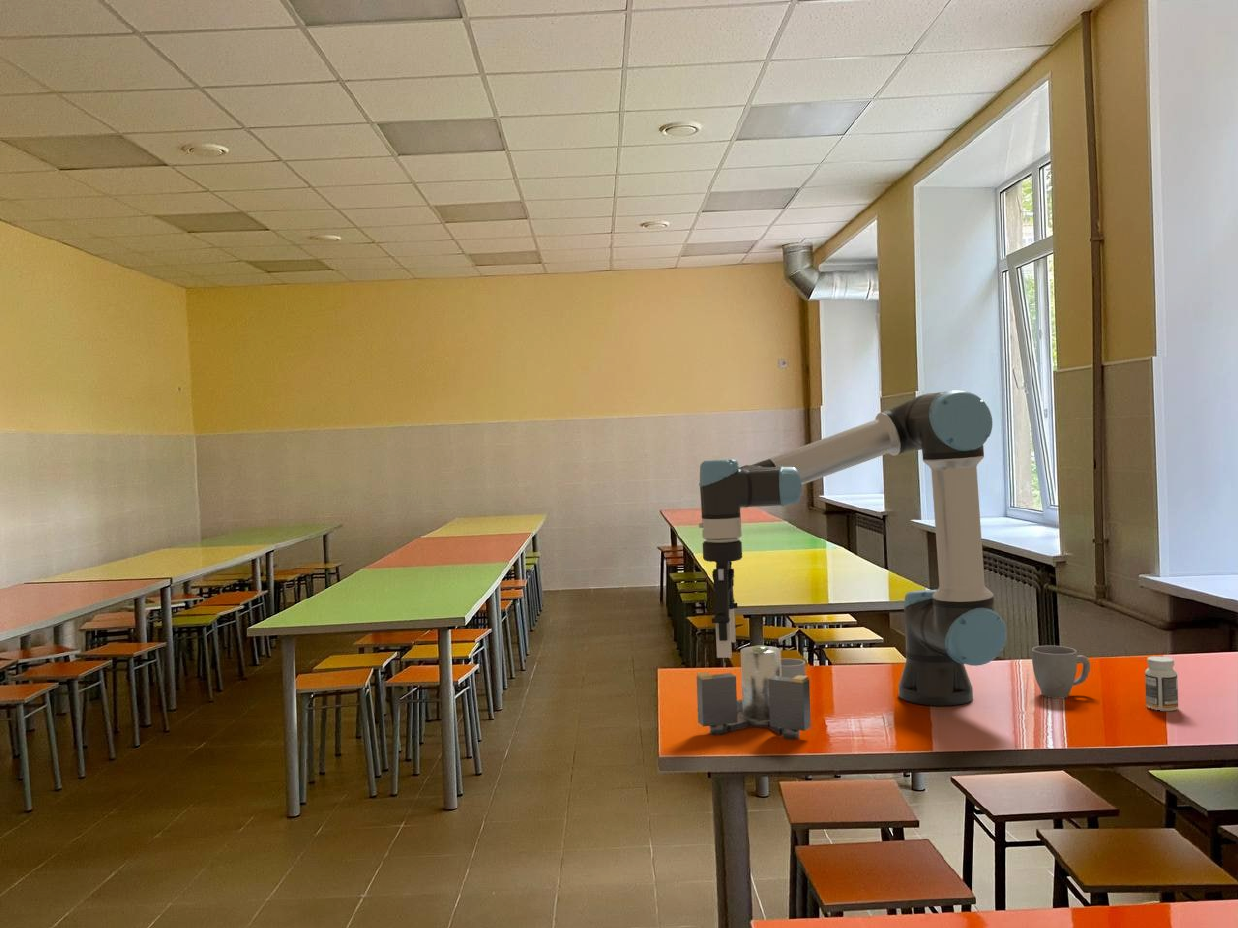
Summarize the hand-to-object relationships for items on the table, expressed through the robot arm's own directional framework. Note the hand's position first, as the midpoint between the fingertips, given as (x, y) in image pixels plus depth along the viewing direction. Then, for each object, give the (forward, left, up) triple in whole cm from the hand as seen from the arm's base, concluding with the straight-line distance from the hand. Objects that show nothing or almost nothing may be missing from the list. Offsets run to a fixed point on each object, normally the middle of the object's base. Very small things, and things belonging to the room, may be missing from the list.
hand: (726, 649), depth 191 cm
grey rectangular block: (-12, 0, -16) cm, 20 cm away
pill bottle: (-81, -33, -17) cm, 89 cm away
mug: (-63, -41, -17) cm, 77 cm away
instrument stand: (-5, -9, -16) cm, 19 cm away
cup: (-7, -23, -17) cm, 29 cm away
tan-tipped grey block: (+2, 0, -16) cm, 16 cm away
